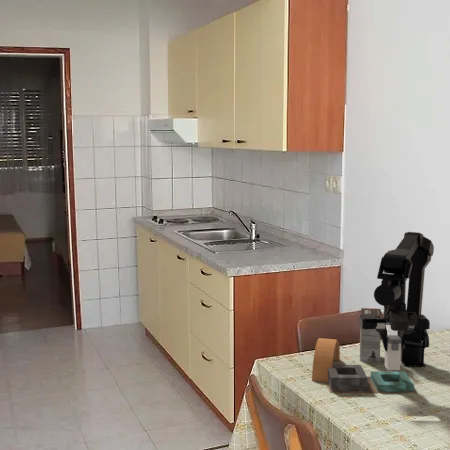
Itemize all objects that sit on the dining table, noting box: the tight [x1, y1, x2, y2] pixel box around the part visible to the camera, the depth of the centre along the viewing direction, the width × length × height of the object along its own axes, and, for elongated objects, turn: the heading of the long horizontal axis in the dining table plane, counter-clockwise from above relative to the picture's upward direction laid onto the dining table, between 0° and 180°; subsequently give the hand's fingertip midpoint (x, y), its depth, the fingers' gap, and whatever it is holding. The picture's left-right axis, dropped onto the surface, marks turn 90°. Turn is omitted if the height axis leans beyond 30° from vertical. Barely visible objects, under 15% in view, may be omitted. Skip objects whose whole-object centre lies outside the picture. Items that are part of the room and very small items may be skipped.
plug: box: [384, 334, 402, 371], centre depth 177 cm, size 4×4×9 cm
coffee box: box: [359, 307, 382, 363], centre depth 201 cm, size 9×6×16 cm
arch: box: [311, 337, 341, 383], centre depth 190 cm, size 6×20×10 cm, turn 162°
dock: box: [325, 364, 417, 394], centre depth 179 cm, size 24×12×5 cm, turn 89°
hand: (392, 350), depth 178 cm, fingers closed on plug, 4 cm apart
